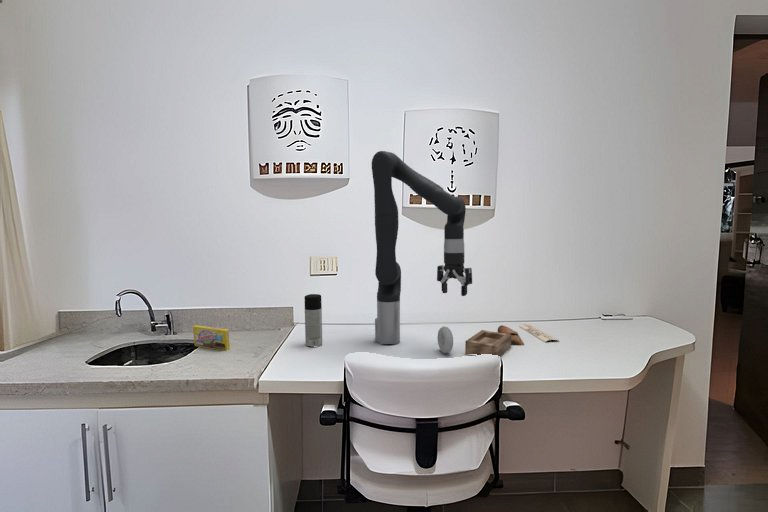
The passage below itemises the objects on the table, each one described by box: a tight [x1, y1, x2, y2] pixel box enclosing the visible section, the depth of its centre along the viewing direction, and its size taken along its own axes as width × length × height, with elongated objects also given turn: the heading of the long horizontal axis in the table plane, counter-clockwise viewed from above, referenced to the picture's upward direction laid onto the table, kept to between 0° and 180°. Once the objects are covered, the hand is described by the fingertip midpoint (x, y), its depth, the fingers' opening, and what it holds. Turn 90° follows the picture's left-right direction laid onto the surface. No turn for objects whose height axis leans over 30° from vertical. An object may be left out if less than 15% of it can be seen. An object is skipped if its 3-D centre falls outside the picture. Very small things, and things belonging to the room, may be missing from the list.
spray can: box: [304, 293, 323, 348], centre depth 177 cm, size 7×7×20 cm
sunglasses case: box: [497, 325, 525, 347], centre depth 185 cm, size 18×7×7 cm
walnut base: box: [464, 329, 512, 358], centre depth 170 cm, size 12×17×5 cm
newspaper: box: [518, 323, 560, 343], centre depth 192 cm, size 24×7×2 cm, turn 9°
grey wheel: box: [437, 326, 454, 355], centre depth 168 cm, size 10×4×10 cm, turn 15°
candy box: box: [192, 324, 231, 351], centre depth 174 cm, size 16×2×8 cm, turn 68°
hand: (454, 294), depth 167 cm, fingers open, 8 cm apart
